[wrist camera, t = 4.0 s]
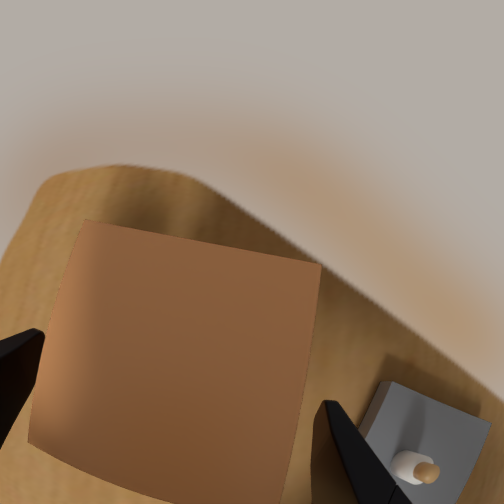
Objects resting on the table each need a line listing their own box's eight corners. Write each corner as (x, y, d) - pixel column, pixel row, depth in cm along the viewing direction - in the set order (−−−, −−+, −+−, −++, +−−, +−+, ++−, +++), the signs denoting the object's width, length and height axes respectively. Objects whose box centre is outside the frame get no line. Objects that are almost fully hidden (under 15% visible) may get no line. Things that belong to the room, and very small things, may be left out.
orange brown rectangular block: (253, 442, 14) (274, 520, 5) (136, 414, 14) (27, 442, 5) (274, 328, 17) (322, 264, 8) (161, 305, 17) (84, 219, 8)
